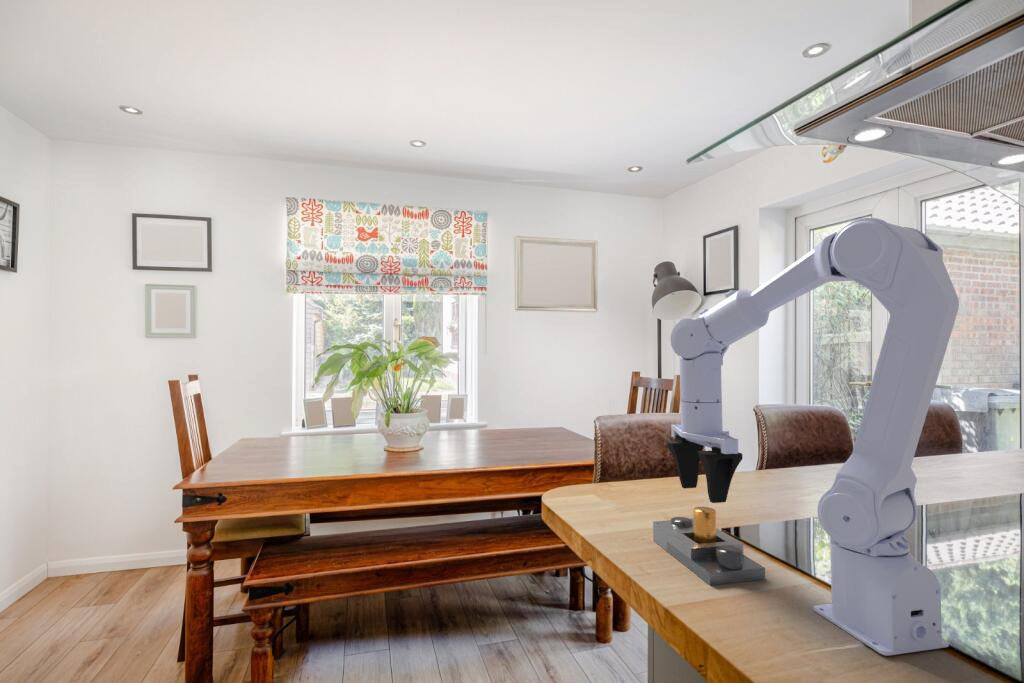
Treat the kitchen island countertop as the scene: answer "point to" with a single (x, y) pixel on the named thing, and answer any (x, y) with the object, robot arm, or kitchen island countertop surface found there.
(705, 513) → the pin
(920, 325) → the robot arm
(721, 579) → the gray slab
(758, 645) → the kitchen island countertop surface
